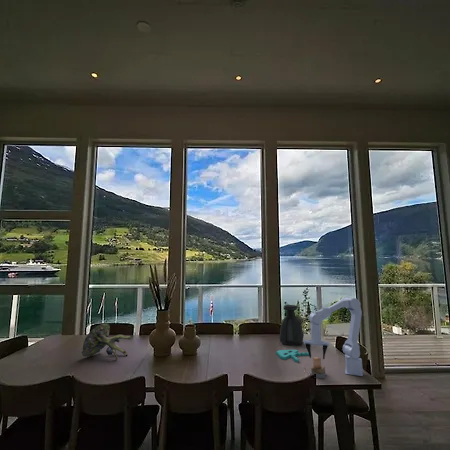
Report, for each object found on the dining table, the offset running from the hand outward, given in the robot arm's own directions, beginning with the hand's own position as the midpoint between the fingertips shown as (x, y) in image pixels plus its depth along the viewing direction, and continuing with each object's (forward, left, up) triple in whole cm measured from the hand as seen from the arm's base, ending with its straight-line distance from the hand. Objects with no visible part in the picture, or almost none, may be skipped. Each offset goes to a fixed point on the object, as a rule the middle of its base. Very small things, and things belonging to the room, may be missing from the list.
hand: (317, 357), depth 172 cm
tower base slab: (0, 0, -10) cm, 10 cm away
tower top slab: (0, 0, -8) cm, 8 cm away
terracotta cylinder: (0, 0, -5) cm, 5 cm away
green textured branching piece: (+142, +16, -10) cm, 143 cm away
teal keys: (+21, -31, -10) cm, 39 cm away
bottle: (+26, -67, -10) cm, 73 cm away
